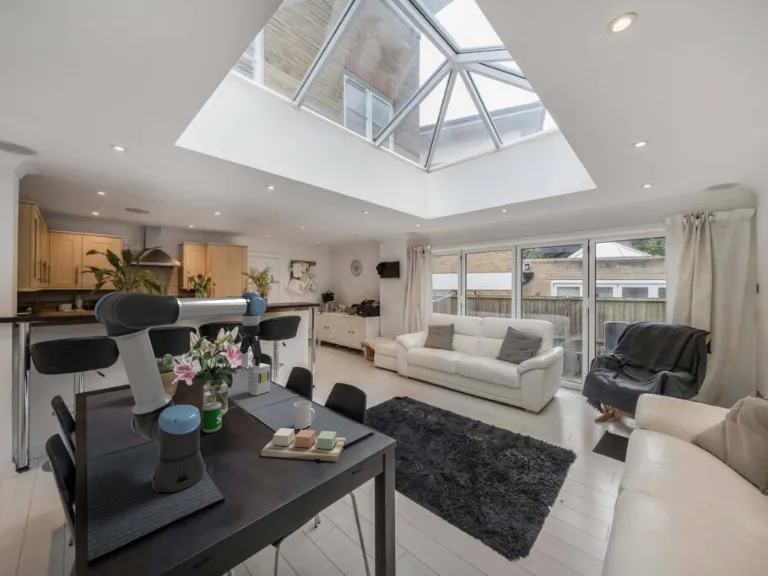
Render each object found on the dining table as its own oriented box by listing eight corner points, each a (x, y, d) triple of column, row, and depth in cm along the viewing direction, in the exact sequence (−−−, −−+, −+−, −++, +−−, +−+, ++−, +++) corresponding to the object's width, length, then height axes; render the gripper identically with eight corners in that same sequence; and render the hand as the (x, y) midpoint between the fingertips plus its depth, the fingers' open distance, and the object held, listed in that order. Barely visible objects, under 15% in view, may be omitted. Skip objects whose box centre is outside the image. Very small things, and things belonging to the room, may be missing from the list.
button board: (336, 461, 115) (336, 456, 115) (261, 455, 119) (261, 450, 119) (345, 442, 129) (345, 437, 129) (278, 437, 133) (278, 433, 133)
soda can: (213, 434, 136) (213, 407, 135) (198, 432, 137) (198, 405, 137) (225, 426, 143) (225, 401, 143) (211, 425, 144) (211, 399, 144)
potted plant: (162, 390, 191) (162, 350, 191) (189, 392, 188) (189, 351, 188) (134, 401, 173) (134, 357, 173) (163, 403, 170) (163, 358, 170)
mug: (290, 426, 143) (290, 404, 143) (303, 420, 150) (303, 399, 150) (307, 434, 136) (307, 410, 136) (320, 428, 143) (320, 405, 142)
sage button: (332, 449, 120) (332, 439, 120) (317, 448, 121) (317, 438, 120) (336, 441, 126) (336, 431, 126) (322, 440, 126) (322, 430, 126)
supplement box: (256, 396, 182) (256, 368, 181) (247, 393, 187) (247, 365, 186) (270, 392, 190) (270, 364, 189) (261, 389, 195) (261, 362, 195)
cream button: (288, 446, 122) (288, 435, 122) (273, 444, 123) (273, 434, 123) (294, 438, 128) (294, 428, 128) (280, 437, 129) (280, 428, 129)
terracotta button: (309, 447, 121) (309, 437, 121) (295, 446, 122) (295, 436, 122) (315, 440, 127) (315, 430, 127) (301, 439, 128) (301, 429, 128)
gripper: (270, 326, 139) (269, 373, 139) (248, 321, 156) (248, 363, 156) (253, 327, 133) (252, 376, 133) (233, 322, 151) (232, 366, 151)
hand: (250, 369), depth 145 cm, fingers open, 13 cm apart
